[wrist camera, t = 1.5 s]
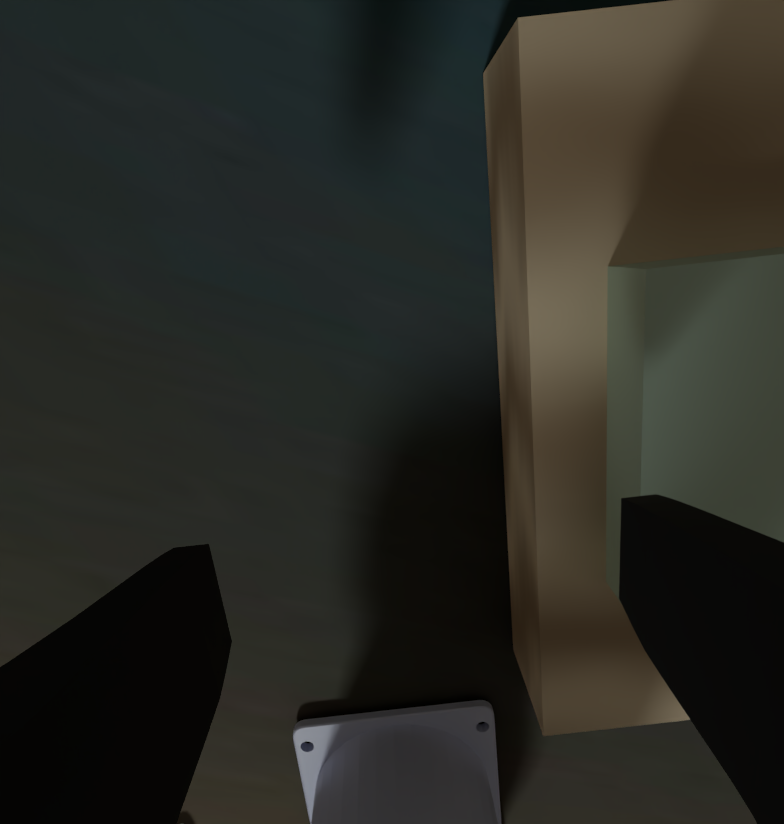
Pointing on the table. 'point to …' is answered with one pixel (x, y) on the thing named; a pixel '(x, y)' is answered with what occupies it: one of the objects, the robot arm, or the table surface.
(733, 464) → the tile
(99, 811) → the robot arm
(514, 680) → the table surface
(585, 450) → the riser
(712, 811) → the table surface
